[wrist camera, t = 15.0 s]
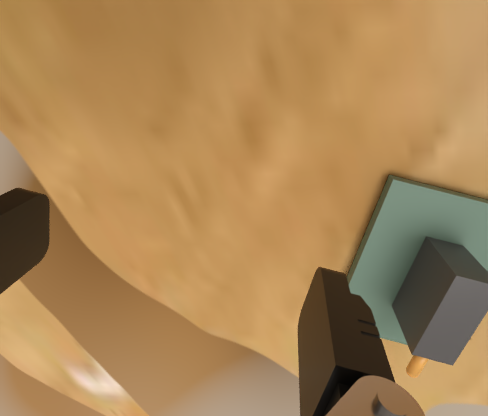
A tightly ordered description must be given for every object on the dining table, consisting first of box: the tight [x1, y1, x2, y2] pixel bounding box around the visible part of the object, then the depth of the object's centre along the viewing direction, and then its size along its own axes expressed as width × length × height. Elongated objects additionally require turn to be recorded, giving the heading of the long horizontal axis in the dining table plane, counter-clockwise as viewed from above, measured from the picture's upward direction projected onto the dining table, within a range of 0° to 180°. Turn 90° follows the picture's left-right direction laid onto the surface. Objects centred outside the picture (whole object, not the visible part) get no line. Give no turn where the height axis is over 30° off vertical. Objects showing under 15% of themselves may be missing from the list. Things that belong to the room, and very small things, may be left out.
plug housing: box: [392, 236, 488, 378], centre depth 35 cm, size 12×4×7 cm, turn 167°
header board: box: [347, 175, 488, 345], centre depth 36 cm, size 18×14×6 cm
